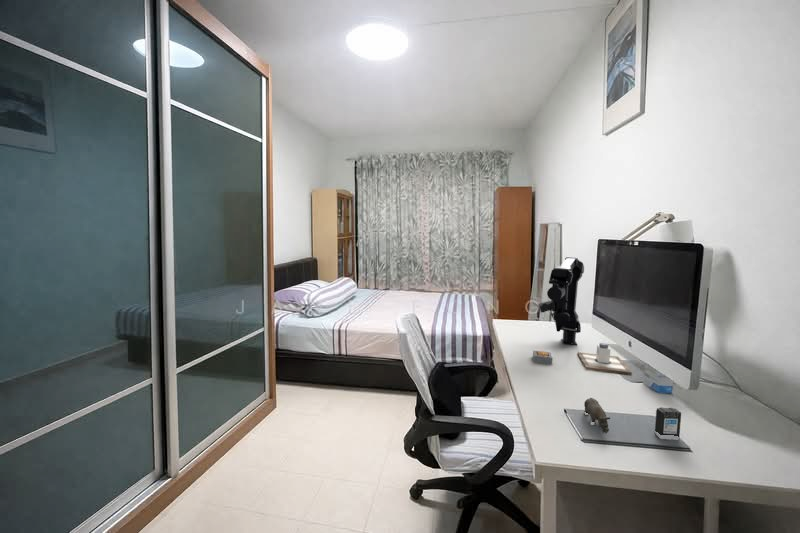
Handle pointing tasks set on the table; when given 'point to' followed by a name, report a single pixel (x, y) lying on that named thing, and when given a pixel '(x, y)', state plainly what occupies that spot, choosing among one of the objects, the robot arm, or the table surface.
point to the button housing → (542, 358)
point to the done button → (542, 353)
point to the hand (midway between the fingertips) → (558, 331)
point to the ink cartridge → (668, 421)
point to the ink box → (657, 380)
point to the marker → (603, 353)
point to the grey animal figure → (596, 413)
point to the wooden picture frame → (603, 364)
